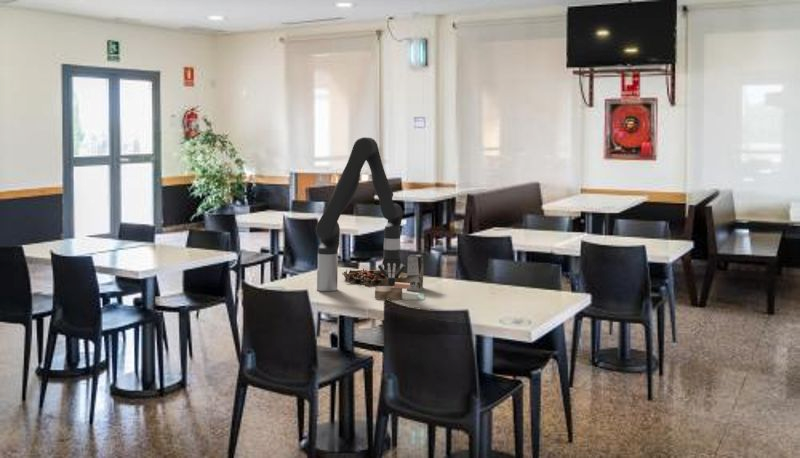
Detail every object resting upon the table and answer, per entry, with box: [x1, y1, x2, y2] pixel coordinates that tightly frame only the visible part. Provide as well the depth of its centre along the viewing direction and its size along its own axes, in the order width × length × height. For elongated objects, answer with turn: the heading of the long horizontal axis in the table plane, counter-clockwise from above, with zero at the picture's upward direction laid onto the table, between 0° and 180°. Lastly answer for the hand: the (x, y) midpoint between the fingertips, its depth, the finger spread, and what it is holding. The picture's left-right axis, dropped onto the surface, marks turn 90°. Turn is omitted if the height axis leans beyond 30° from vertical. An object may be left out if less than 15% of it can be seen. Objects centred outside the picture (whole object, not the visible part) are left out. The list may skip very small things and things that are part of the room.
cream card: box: [401, 291, 419, 300], centre depth 372 cm, size 7×4×2 cm, turn 88°
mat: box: [402, 292, 425, 301], centre depth 376 cm, size 10×14×1 cm
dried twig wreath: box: [342, 267, 407, 287], centre depth 413 cm, size 35×33×8 cm
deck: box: [374, 286, 403, 300], centre depth 376 cm, size 12×12×4 cm
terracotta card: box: [394, 282, 410, 290], centre depth 378 cm, size 7×4×2 cm, turn 89°
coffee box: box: [406, 253, 424, 292], centre depth 394 cm, size 9×6×16 cm
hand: (391, 285), depth 378 cm, fingers closed
